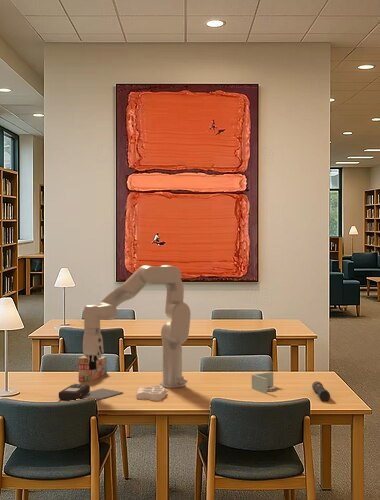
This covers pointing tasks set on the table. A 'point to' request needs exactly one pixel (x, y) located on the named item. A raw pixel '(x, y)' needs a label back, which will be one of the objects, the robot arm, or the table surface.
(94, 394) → the mat
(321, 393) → the flashlight
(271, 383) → the right angle wall
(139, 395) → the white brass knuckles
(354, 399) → the table surface
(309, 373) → the table surface
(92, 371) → the stack of blocks
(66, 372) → the table surface
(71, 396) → the card reader
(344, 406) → the table surface
